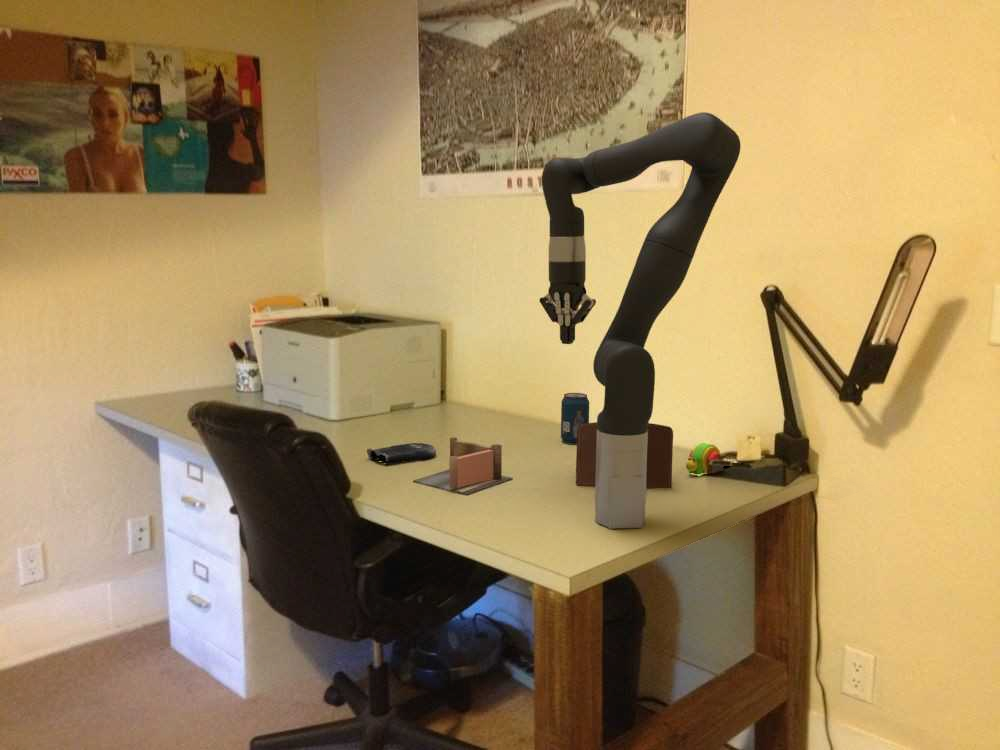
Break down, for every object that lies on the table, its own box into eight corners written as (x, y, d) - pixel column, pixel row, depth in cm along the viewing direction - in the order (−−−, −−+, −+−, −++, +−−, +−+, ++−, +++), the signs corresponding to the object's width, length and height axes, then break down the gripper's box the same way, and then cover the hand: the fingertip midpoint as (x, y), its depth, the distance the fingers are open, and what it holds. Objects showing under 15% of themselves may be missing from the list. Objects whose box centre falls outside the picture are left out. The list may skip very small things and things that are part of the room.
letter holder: (671, 490, 189) (674, 423, 186) (575, 486, 191) (576, 420, 189) (668, 476, 199) (670, 413, 196) (576, 473, 201) (577, 411, 198)
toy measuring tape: (675, 474, 200) (676, 445, 199) (729, 460, 213) (731, 432, 211) (699, 480, 195) (700, 451, 194) (753, 465, 208) (754, 437, 207)
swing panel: (488, 476, 194) (488, 447, 193) (493, 478, 193) (494, 448, 192) (448, 487, 186) (447, 457, 185) (453, 489, 185) (453, 458, 184)
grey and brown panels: (512, 479, 195) (513, 445, 194) (466, 495, 184) (466, 459, 183) (458, 466, 205) (458, 434, 204) (411, 481, 193) (411, 447, 192)
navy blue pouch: (389, 475, 205) (444, 455, 213) (384, 451, 204) (439, 433, 212) (369, 471, 212) (423, 452, 221) (364, 448, 211) (418, 430, 220)
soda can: (573, 437, 234) (574, 391, 232) (594, 441, 229) (595, 394, 227) (555, 441, 229) (555, 394, 227) (576, 446, 224) (577, 398, 222)
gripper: (604, 258, 184) (604, 343, 187) (551, 257, 192) (551, 339, 195) (584, 260, 178) (584, 348, 181) (529, 259, 186) (530, 343, 189)
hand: (567, 343), depth 188 cm, fingers closed
